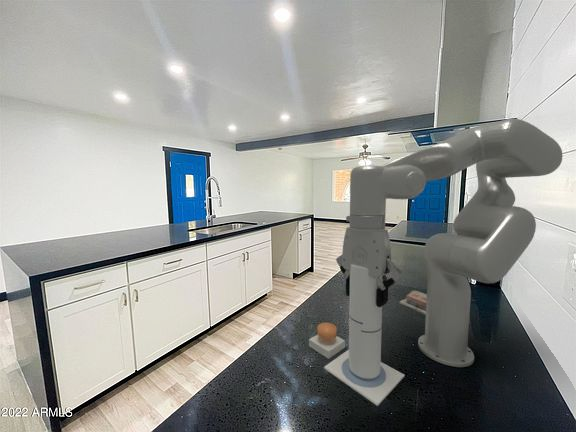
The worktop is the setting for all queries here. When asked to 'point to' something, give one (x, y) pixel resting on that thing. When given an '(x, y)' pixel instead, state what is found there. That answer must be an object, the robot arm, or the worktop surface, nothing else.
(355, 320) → the cylindrical container
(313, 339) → the button housing
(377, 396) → the white flat plate
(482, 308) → the worktop surface
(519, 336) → the worktop surface
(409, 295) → the packaged product
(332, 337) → the button
